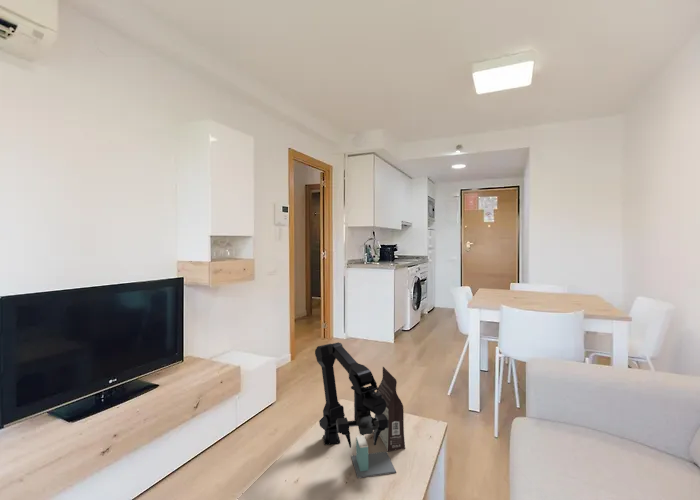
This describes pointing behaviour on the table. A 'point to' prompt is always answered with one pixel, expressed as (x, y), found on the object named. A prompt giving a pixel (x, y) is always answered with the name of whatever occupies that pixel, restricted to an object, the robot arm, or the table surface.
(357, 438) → the slab
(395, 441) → the protein powder
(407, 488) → the table surface
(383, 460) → the mat
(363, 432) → the robot arm
